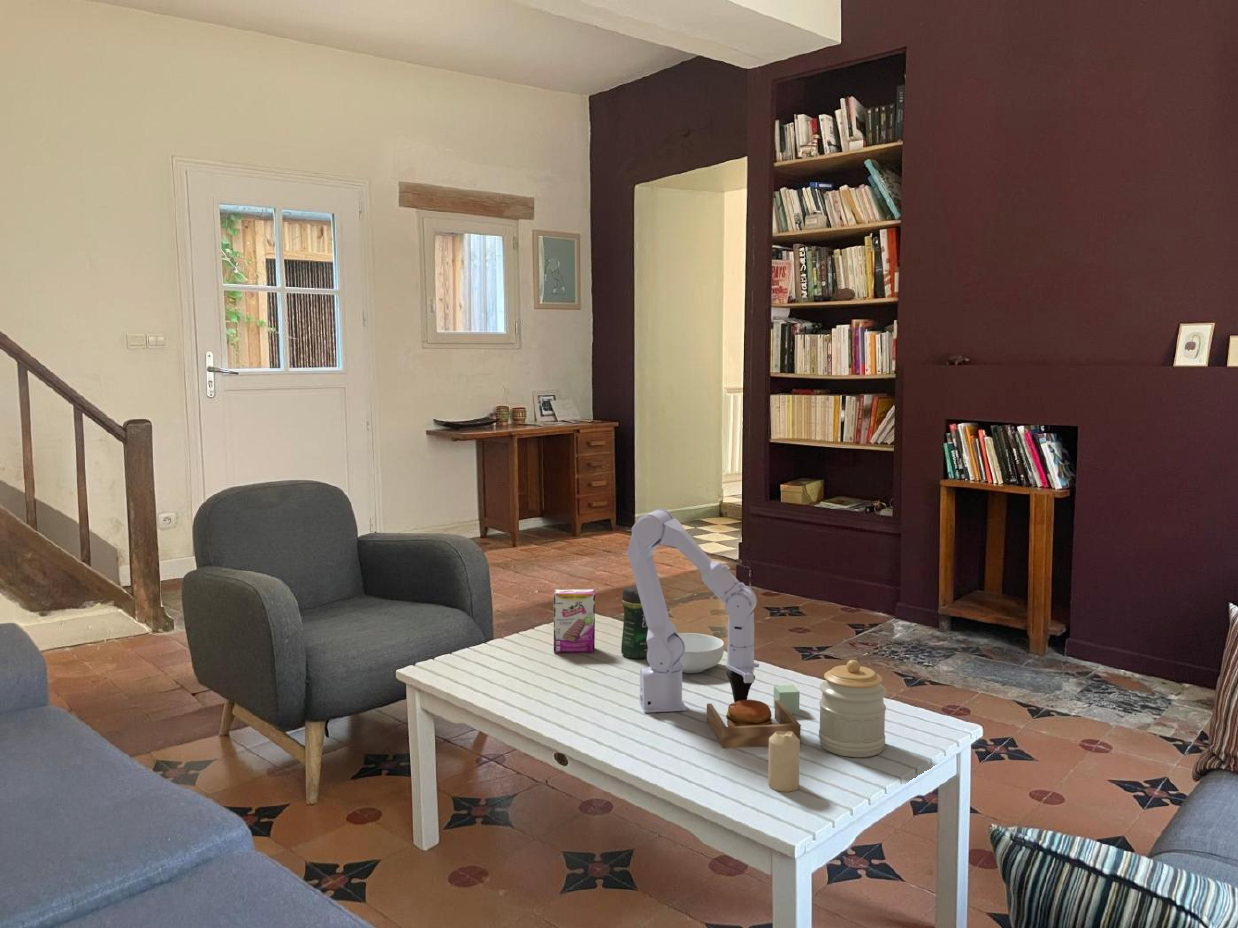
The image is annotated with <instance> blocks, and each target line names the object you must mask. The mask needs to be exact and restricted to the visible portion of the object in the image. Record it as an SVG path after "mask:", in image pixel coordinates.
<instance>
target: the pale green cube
mask: <svg viewBox="0 0 1238 928" xmlns="http://www.w3.org/2000/svg"><path fill="white" fill-rule="evenodd" d="M800 697H801V696H800V690H799V689H798V688H797V687H796V686H795V685H794V684H785V685H782V684H781V685H780V684H779V685H773V709H774V710H775V700H780V702H781V703H782V704H783V705H784V706H785V707H786V709H787V710H788V711H789V712H790V713H791V714H792V715H793V714H794V715H796V714H800Z"/></svg>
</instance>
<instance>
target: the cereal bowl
mask: <svg viewBox="0 0 1238 928" xmlns="http://www.w3.org/2000/svg"><path fill="white" fill-rule="evenodd" d="M677 633H678V635H679V636H680V637H681V638H682V640H683V641H684V644H685V652H684V654H683V656H682V657H681V658H680V661H681V664H682V673H686V674H697V673H702V672H704V671H705V670H708V669H711V668H713V667H715V666H716V665H718V664H719V663H720V662H721V660H722V659H723V656H724V652H725V651H724V650H725V642H724V640H722V639H721V638H718V637H716V636H713V635H711V634H710V635H709V634H703V633H695V632H694V633H693V632H677Z"/></svg>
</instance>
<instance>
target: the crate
mask: <svg viewBox="0 0 1238 928" xmlns="http://www.w3.org/2000/svg"><path fill="white" fill-rule="evenodd" d="M774 720H775V721H776V722H777V723H778V724H775V723H773V724H772V725H753V726H734V727H729V726H727V725H726V724H725V722H724V721H723V719H722V717H721V716H720V714H719V713H718V711H717V709H716V708H715V707H714V705H713V704H712V703H706V723H707V725H708V726H709V728H710V730H711V731H712V733H713V735H714V737H715V738H716V740H717V742H718V744H719V746H720V747H721V749H735V748H736V749H737V748H752V747H753V748H756V747H769V738H770V737H771V736H772V735H773V734H774V733H775V732H776V731H777V732H778V731H782V732H788V731H791V732H793V733H794V734H795V736H796V737H797V738H798V739H799V740H800V741H801V727H802V726H801V724H800V723H799V721H797V719H796V717H794V715H793V714H791V713H790V712H789V711H788V710H787V709H786V707H785V706H784V705H783V704H782V703H781V702H780V700H775V709H774Z"/></svg>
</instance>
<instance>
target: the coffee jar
mask: <svg viewBox="0 0 1238 928" xmlns="http://www.w3.org/2000/svg"><path fill="white" fill-rule="evenodd" d="M621 604H622V606H623V607H622V608H623V626H622V627H623V628H622V636H621V647H620V648H621V650H620V651H621V652H620V653H621V654H622V655H623V656H625V657H626V658H629V659H630V658H631V659H644V658H647V651H648V645H647V641H646V640H647V633H648V626H647V623H646V619H645V615H644V612H643V608H642V604H641V601H640V597H639V593H638V590H637V586H636V585H635V586H632V587H625V588H624V589H623V590H622V596H621Z"/></svg>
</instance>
